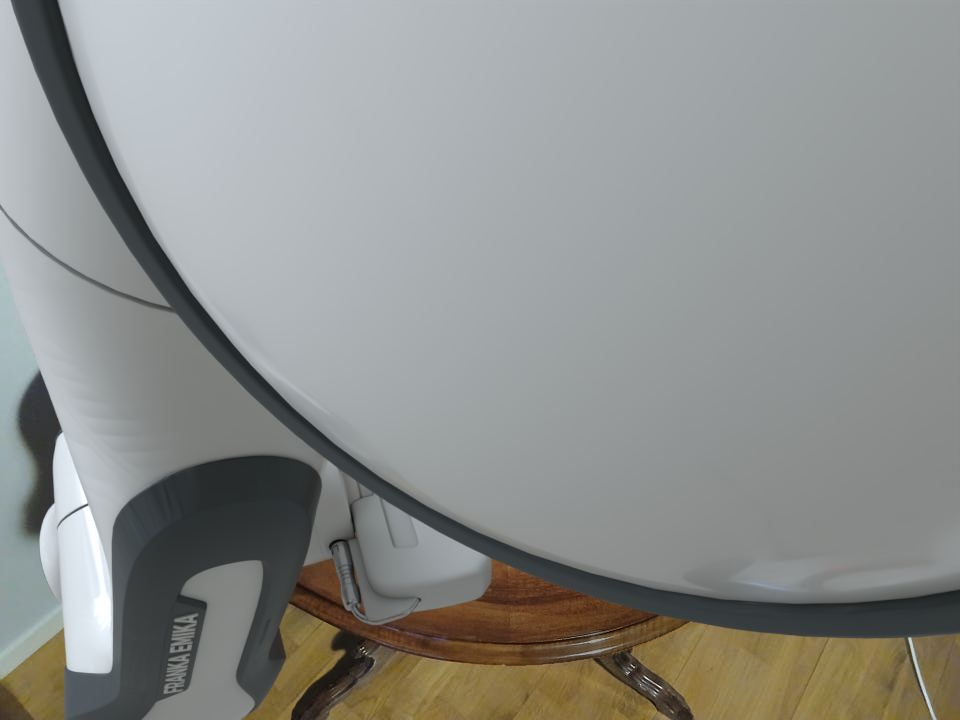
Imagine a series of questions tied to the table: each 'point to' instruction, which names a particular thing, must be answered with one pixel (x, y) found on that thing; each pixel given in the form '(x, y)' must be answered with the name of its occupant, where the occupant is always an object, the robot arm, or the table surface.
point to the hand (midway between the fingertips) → (510, 442)
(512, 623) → the table surface
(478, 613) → the table surface
